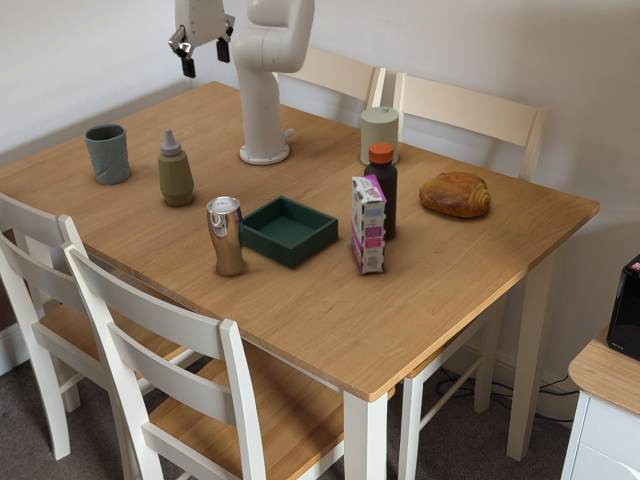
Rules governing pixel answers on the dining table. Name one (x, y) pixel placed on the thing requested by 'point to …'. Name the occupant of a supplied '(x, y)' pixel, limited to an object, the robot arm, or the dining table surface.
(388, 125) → the can
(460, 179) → the croissant
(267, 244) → the tote
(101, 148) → the grey green cup
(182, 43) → the robot arm
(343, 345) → the dining table surface
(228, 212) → the beer glass
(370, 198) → the candy bar box
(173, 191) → the squeeze bottle
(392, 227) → the vinegar
